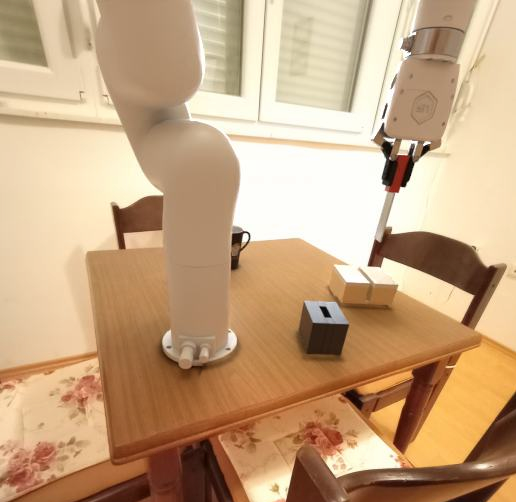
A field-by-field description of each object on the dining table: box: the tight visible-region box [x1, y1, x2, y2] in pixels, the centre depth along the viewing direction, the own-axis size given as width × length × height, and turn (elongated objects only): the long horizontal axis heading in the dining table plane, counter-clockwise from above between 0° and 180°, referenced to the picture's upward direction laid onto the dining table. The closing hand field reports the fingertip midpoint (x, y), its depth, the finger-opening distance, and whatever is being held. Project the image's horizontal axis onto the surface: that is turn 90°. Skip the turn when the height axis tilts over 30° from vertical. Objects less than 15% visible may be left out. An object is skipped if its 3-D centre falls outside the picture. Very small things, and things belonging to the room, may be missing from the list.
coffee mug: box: [231, 224, 252, 271], centre depth 85 cm, size 12×9×10 cm
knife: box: [374, 153, 410, 243], centre depth 59 cm, size 3×2×15 cm, turn 3°
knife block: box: [298, 300, 350, 356], centre depth 55 cm, size 8×6×7 cm
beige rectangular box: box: [328, 264, 399, 309], centre depth 75 cm, size 11×12×6 cm
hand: (393, 185), depth 58 cm, fingers closed on knife, 2 cm apart
